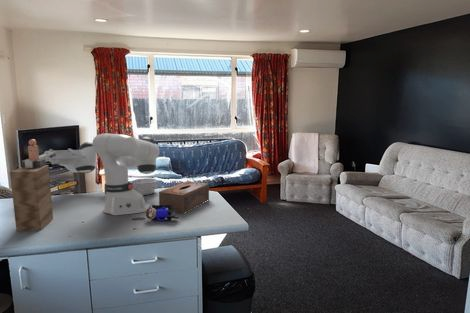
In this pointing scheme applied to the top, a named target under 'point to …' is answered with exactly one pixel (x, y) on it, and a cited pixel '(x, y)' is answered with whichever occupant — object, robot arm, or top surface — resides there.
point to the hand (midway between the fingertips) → (59, 150)
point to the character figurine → (161, 212)
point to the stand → (32, 196)
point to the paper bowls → (145, 185)
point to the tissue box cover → (184, 196)
